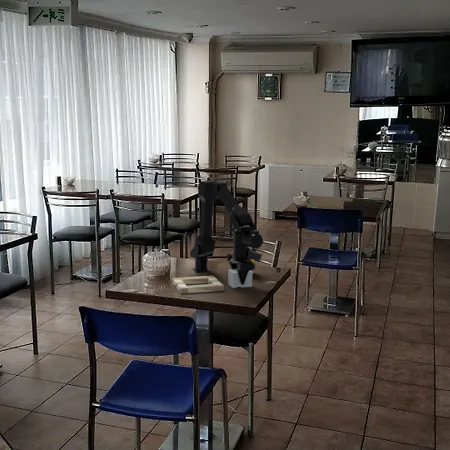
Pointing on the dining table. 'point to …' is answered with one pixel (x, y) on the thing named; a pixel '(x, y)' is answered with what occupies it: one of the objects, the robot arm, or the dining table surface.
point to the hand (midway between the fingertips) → (240, 282)
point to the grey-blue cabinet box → (235, 281)
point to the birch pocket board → (212, 286)
